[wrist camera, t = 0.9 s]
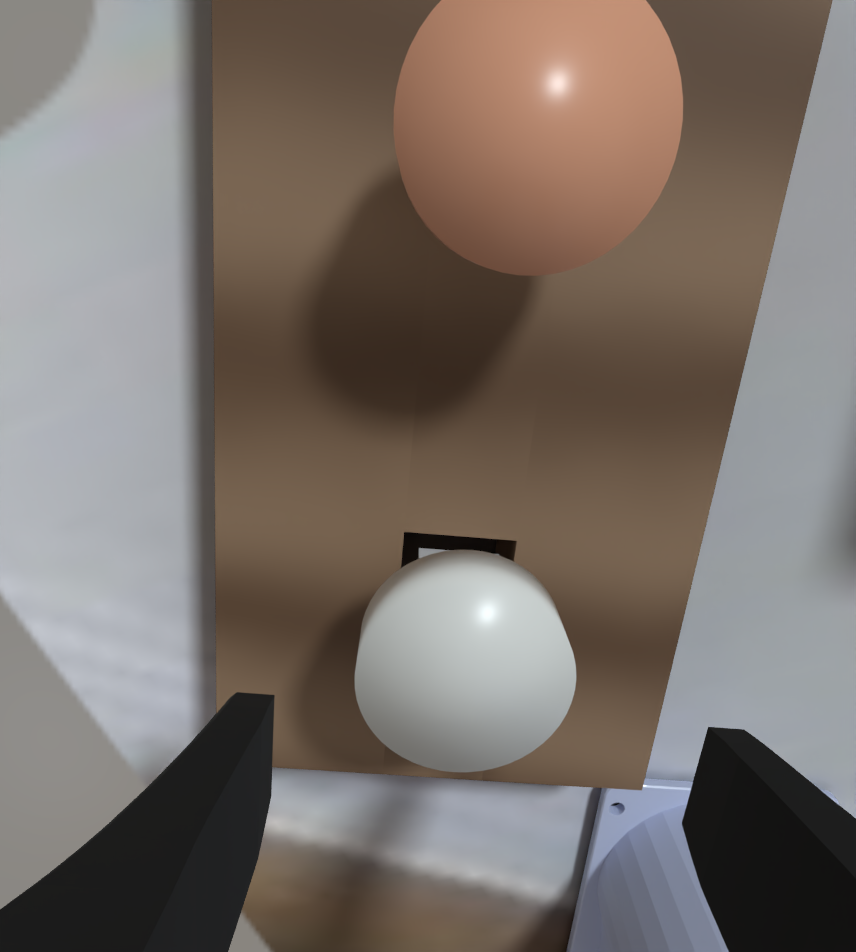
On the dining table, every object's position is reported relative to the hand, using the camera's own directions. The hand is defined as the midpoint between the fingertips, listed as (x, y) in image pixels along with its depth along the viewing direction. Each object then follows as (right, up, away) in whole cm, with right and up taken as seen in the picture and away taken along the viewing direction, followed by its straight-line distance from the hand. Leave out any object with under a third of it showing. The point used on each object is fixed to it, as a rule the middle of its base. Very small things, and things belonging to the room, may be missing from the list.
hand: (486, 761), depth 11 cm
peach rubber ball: (+1, +11, +3) cm, 12 cm away
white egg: (0, +2, +6) cm, 6 cm away
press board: (0, +8, +7) cm, 11 cm away
